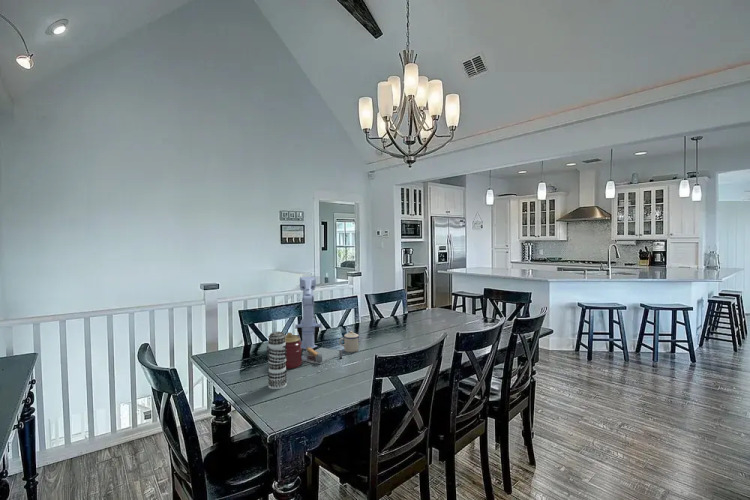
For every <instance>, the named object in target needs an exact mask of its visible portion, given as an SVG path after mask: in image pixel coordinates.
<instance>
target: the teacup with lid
mask: <svg viewBox="0 0 750 500" xmlns="http://www.w3.org/2000/svg"><path fill="white" fill-rule="evenodd" d="M359 336H360V335H359V334H357V333H355V332H354V331H353V330H350V331H349V332H348V333H345V334H344V336H343V337H340V338H339V341H338V343H339V344H340V346H341V347H344V351H345V352H346V353H355V352H358V351H359ZM342 340H343V343H344V344H342Z"/></svg>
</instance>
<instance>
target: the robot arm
mask: <svg viewBox="0 0 750 500" xmlns="http://www.w3.org/2000/svg"><path fill="white" fill-rule="evenodd" d="M316 284H317V282H316V276H300V277H299V288H300V289H299V290H300V291H302V297H301V304H302V319H301V320H300V321H299V322H300V323H299V324H295V326H294V328H295V329H296V330H297V333H298V337H300V341H301V342H302V344H301V348H302V350H303V349H304V350H306V347H308V346H309V347H311V348H312V349H315V348H317V347H318V345H315V342H316V341H317V337H318V334H319V331H320V329H321V328H322V323H317V322H316V318H314V305H315V296H314V291H315V290H316V286H317V285H316Z"/></svg>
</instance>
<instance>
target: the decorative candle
mask: <svg viewBox="0 0 750 500" xmlns="http://www.w3.org/2000/svg"><path fill="white" fill-rule="evenodd" d="M286 335H287V334H285V333H284V332H282V331H273V332H271V333H270V334H269V335H268V336H267V338H268V345H267V346H266V349H267V351H266V352H267V354H266V355H267V362H268V372H267V373H268V375H267V378H268V379H267V380H268V382H267V384H268V388H269V389H271V390H279V389H280V390H281V389H284V388H285V387H286V386H287V385H288V384H287V381H288V379H287V378H288V377H287V371H288V369H287V368H286V366H285V362H286V358H287V357H286V356H285V355H286V354H287V352H285V351H287V349H286V347H287V345H286V342H285V336H286Z"/></svg>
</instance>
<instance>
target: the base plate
mask: <svg viewBox="0 0 750 500" xmlns="http://www.w3.org/2000/svg"><path fill="white" fill-rule="evenodd" d="M315 351H316V352H317V353H319V354H322V362H316V357H315V356H314V355H313V354H311V353H310V352H309V351H307V350H306V351H305V352H303V355H302V362H307V363H310V364H316V365H321V364H323V363H326V362H327V361H330V360H332V359H334V358H336V357H338V358H339V360H340V359H341V360H342V359H343V349H340V350H336V349H331V348H327V347H326V348H325V347H319V348H317V349H315Z"/></svg>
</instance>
